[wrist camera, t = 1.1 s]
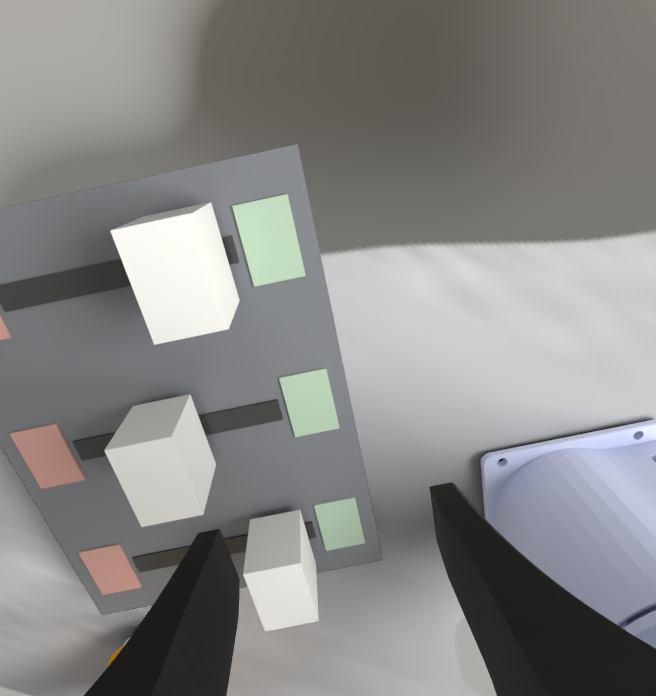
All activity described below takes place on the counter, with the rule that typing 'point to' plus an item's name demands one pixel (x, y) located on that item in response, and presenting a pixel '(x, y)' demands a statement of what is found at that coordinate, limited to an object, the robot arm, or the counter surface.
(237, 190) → the breaker board
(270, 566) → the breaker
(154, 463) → the block
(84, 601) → the counter surface
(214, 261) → the block
